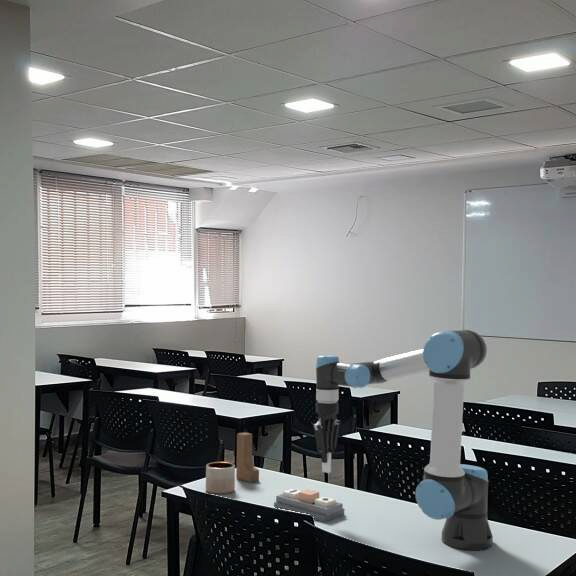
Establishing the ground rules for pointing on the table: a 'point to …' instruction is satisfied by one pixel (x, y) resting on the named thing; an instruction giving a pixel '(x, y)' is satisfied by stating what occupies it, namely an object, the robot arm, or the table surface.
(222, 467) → the planter
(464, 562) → the table surface
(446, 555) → the table surface
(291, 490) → the bar key
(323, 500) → the dot key
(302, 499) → the blank key
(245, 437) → the wooden block
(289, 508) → the keypad
